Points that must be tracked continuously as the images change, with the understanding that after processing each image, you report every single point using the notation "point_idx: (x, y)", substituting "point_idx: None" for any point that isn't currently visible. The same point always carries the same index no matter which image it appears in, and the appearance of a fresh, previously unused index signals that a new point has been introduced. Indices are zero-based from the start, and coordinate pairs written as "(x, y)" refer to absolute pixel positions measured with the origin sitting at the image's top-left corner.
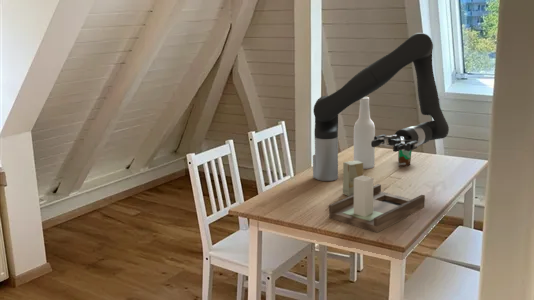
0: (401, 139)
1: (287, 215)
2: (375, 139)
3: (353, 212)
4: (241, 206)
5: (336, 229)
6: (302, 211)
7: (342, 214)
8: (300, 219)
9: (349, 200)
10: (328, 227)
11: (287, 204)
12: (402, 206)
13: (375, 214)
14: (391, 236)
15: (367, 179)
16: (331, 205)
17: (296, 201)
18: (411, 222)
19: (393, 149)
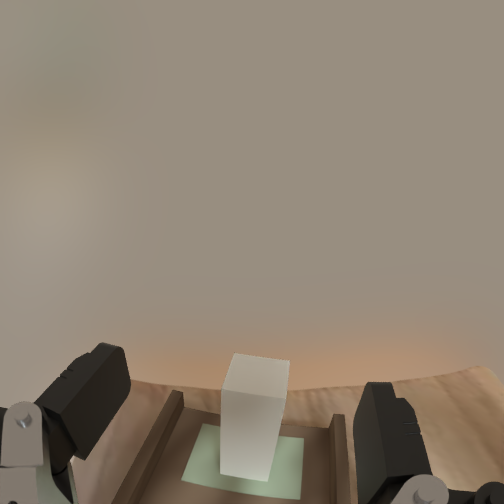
0: (25, 495)
1: (412, 400)
2: (458, 495)
3: (277, 453)
4: (493, 379)
5: None
6: None
7: (298, 433)
8: None
9: (334, 488)
10: (295, 400)
11: (468, 434)
12: (120, 487)
13: (207, 465)
14: (137, 408)
15: (235, 368)
16: (336, 415)
17: (475, 457)
18: (99, 492)
19: (125, 371)
